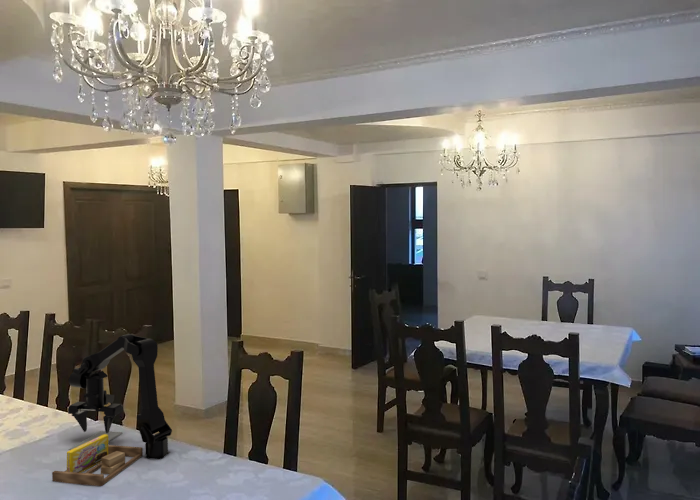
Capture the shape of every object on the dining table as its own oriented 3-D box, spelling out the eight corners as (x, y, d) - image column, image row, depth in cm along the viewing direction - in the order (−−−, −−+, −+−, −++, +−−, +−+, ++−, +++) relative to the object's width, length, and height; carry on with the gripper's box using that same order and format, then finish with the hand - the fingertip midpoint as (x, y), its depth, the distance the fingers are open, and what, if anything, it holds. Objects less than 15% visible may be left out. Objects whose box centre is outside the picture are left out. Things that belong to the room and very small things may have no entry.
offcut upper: (125, 460, 181) (124, 452, 181) (109, 467, 176) (109, 459, 176) (117, 458, 183) (117, 450, 183) (101, 465, 177) (101, 457, 177)
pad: (122, 433, 211) (122, 432, 211) (91, 452, 193) (91, 450, 193) (100, 432, 212) (100, 430, 212) (68, 451, 195) (68, 449, 195)
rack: (142, 456, 190) (142, 447, 189) (101, 486, 168) (101, 476, 168) (98, 452, 193) (98, 444, 193) (52, 482, 171) (52, 472, 171)
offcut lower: (125, 466, 182) (125, 458, 182) (112, 475, 176) (112, 468, 175) (114, 465, 183) (113, 458, 183) (100, 474, 176) (100, 467, 176)
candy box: (71, 479, 173) (70, 452, 173) (66, 478, 174) (65, 451, 173) (109, 458, 188) (108, 434, 188) (104, 457, 189) (103, 433, 189)
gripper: (131, 384, 208) (132, 425, 209) (86, 382, 212) (87, 423, 212) (113, 393, 197) (114, 436, 198) (66, 390, 201) (67, 433, 201)
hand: (96, 432), depth 202 cm, fingers open, 9 cm apart
